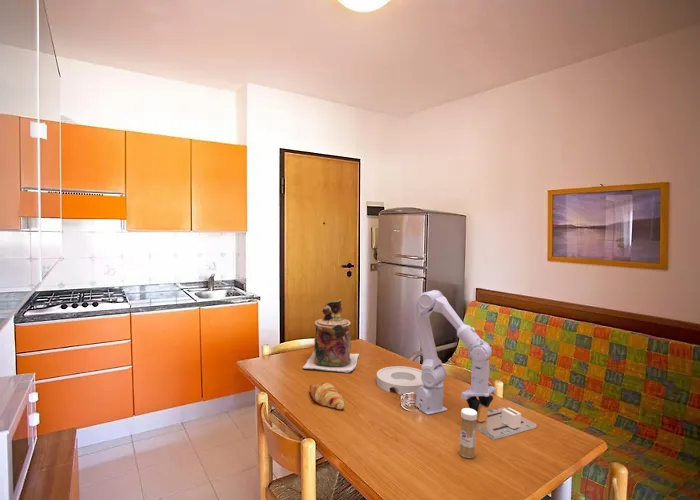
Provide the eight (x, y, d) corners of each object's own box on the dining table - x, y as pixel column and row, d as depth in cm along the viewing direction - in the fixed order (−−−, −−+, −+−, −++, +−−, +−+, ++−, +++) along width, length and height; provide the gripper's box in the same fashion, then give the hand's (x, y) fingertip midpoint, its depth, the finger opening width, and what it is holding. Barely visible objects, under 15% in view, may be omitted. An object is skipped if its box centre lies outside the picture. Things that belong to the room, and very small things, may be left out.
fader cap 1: (479, 422, 134) (480, 408, 134) (469, 415, 139) (469, 402, 138) (487, 420, 136) (487, 406, 136) (476, 413, 140) (477, 400, 140)
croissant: (348, 418, 145) (357, 397, 147) (330, 412, 139) (339, 390, 141) (315, 397, 161) (323, 378, 163) (297, 391, 155) (306, 372, 157)
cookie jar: (313, 354, 207) (315, 294, 205) (359, 357, 204) (361, 296, 202) (301, 370, 183) (302, 302, 181) (353, 374, 179) (355, 305, 178)
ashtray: (389, 398, 155) (389, 388, 155) (368, 377, 177) (368, 368, 177) (440, 392, 163) (440, 383, 162) (414, 372, 185) (414, 364, 184)
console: (495, 440, 125) (495, 436, 125) (461, 419, 139) (461, 415, 139) (537, 428, 134) (538, 424, 134) (502, 409, 148) (502, 406, 148)
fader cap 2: (513, 428, 130) (513, 414, 130) (501, 422, 135) (501, 408, 134) (520, 426, 132) (521, 412, 132) (508, 420, 136) (509, 406, 136)
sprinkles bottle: (456, 455, 117) (458, 410, 116) (463, 448, 120) (465, 405, 119) (471, 461, 114) (473, 415, 113) (477, 454, 117) (479, 410, 116)
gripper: (472, 385, 130) (470, 425, 130) (504, 378, 136) (502, 417, 137) (457, 377, 136) (456, 415, 137) (488, 372, 143) (486, 408, 143)
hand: (478, 415), depth 137 cm, fingers closed on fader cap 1, 3 cm apart
